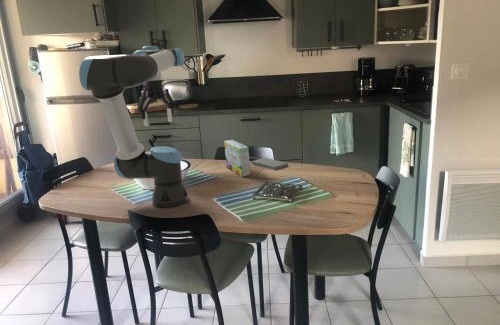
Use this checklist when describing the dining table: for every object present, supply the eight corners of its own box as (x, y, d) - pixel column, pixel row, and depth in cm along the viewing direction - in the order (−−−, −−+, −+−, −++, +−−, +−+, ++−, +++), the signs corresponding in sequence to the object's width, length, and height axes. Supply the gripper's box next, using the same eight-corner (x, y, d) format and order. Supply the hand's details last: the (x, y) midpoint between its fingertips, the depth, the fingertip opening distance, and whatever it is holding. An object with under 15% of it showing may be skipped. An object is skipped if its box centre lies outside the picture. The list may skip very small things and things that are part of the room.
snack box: (225, 167, 218) (223, 140, 214) (234, 166, 220) (233, 139, 217) (241, 177, 200) (239, 148, 196) (251, 175, 202) (249, 146, 198)
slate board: (287, 165, 215) (287, 163, 215) (274, 169, 209) (274, 167, 209) (265, 160, 229) (264, 157, 228) (251, 164, 222) (251, 161, 222)
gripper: (171, 77, 202) (175, 119, 208) (125, 81, 186) (131, 127, 191) (179, 77, 197) (183, 120, 203) (133, 81, 181) (139, 128, 186)
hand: (158, 123), depth 197 cm, fingers open, 13 cm apart
